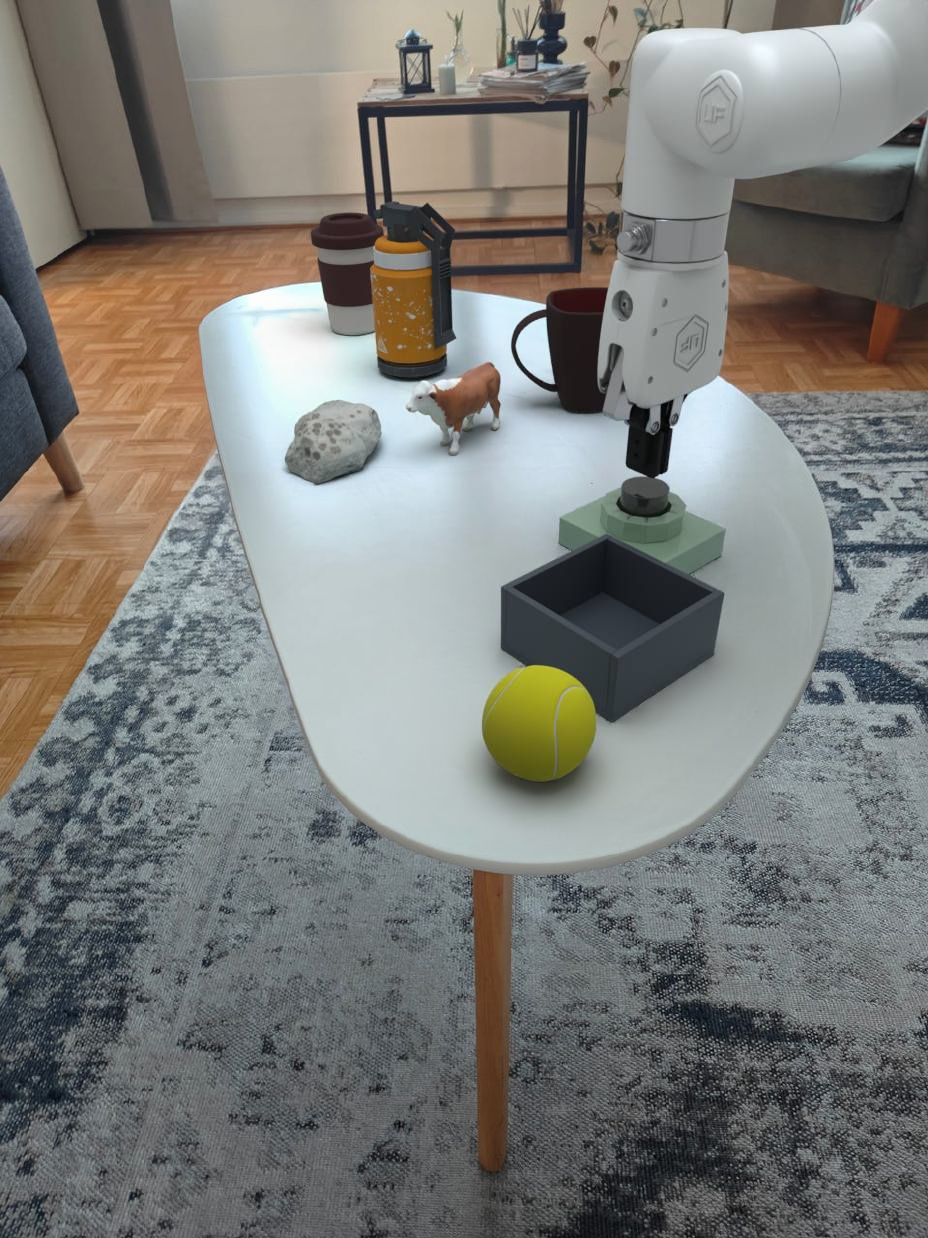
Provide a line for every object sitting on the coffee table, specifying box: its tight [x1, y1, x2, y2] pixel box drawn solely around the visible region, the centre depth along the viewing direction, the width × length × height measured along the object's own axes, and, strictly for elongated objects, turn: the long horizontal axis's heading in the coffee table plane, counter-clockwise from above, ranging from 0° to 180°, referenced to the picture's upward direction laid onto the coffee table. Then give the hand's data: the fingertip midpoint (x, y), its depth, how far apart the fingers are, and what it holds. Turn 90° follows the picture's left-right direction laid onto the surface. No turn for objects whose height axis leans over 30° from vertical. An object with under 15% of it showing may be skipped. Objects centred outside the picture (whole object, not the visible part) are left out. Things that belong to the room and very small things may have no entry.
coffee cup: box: [310, 212, 385, 336], centre depth 126 cm, size 10×10×15 cm
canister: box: [370, 200, 457, 379], centre depth 110 cm, size 9×11×20 cm
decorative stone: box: [284, 399, 383, 485], centre depth 94 cm, size 12×11×5 cm
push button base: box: [558, 487, 727, 575], centre depth 78 cm, size 11×9×4 cm
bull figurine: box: [405, 361, 502, 456], centre depth 96 cm, size 4×13×8 cm, turn 139°
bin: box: [500, 534, 725, 723], centre depth 66 cm, size 11×11×6 cm
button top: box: [620, 475, 671, 518], centre depth 76 cm, size 4×4×2 cm
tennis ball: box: [481, 665, 597, 783], centre depth 56 cm, size 7×7×7 cm
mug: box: [510, 286, 608, 414], centre depth 102 cm, size 10×14×12 cm
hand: (646, 469), depth 75 cm, fingers closed
